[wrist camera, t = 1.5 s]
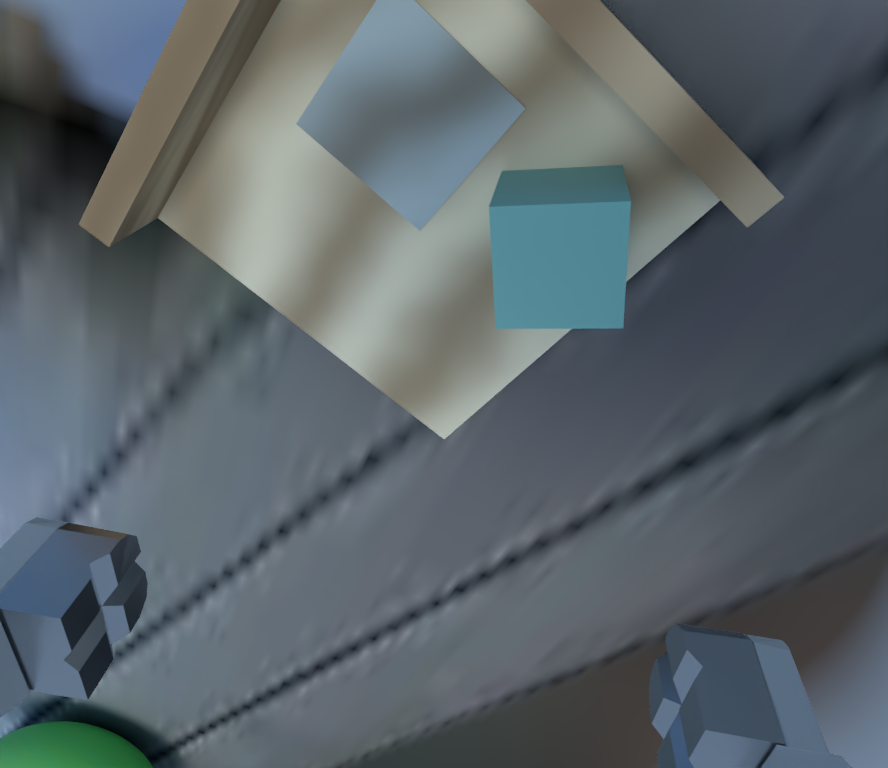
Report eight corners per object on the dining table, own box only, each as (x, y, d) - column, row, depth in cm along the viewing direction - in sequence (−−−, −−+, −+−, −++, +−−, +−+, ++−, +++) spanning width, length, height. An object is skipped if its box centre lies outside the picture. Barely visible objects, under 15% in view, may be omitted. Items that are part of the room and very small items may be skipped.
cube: (622, 164, 27) (631, 201, 23) (616, 277, 29) (623, 328, 25) (501, 170, 28) (488, 206, 24) (506, 279, 30) (495, 328, 26)
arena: (752, 161, 27) (784, 197, 23) (446, 428, 37) (430, 487, 33) (373, -243, 22) (327, -290, 18) (142, 191, 32) (78, 224, 28)
